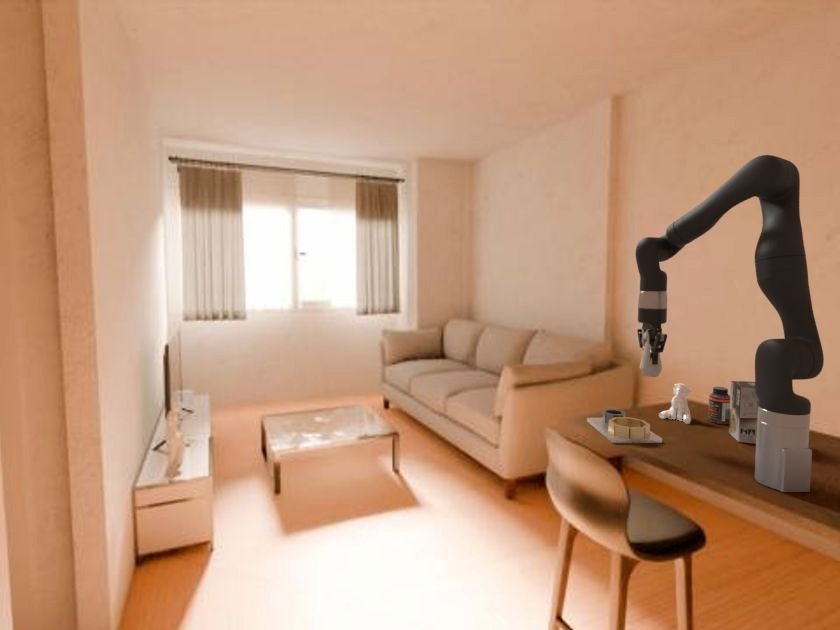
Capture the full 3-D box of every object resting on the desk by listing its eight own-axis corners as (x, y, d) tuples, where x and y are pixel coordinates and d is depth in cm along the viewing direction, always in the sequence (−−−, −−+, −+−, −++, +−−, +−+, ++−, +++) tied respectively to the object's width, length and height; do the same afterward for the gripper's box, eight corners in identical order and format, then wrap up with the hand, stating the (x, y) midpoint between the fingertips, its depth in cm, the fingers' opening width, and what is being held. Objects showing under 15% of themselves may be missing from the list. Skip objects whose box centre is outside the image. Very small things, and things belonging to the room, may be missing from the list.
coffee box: (764, 445, 128) (767, 388, 126) (737, 442, 130) (740, 386, 128) (752, 434, 136) (755, 381, 135) (727, 432, 138) (730, 379, 137)
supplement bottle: (703, 420, 150) (704, 386, 149) (717, 418, 152) (718, 385, 151) (720, 425, 144) (721, 390, 143) (734, 423, 146) (736, 389, 145)
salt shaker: (663, 378, 131) (665, 333, 130) (642, 377, 132) (643, 332, 131) (658, 373, 137) (659, 330, 135) (637, 373, 138) (638, 330, 137)
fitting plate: (662, 442, 130) (662, 428, 130) (612, 443, 130) (613, 428, 130) (629, 420, 150) (630, 408, 149) (587, 421, 150) (587, 408, 149)
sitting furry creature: (657, 418, 152) (659, 383, 151) (667, 413, 158) (668, 379, 157) (689, 424, 145) (690, 387, 144) (698, 419, 151) (699, 383, 150)
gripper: (678, 308, 126) (675, 370, 127) (653, 304, 140) (651, 360, 141) (650, 308, 126) (648, 370, 127) (629, 305, 140) (627, 360, 141)
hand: (650, 364), depth 134 cm, fingers closed on salt shaker, 3 cm apart
